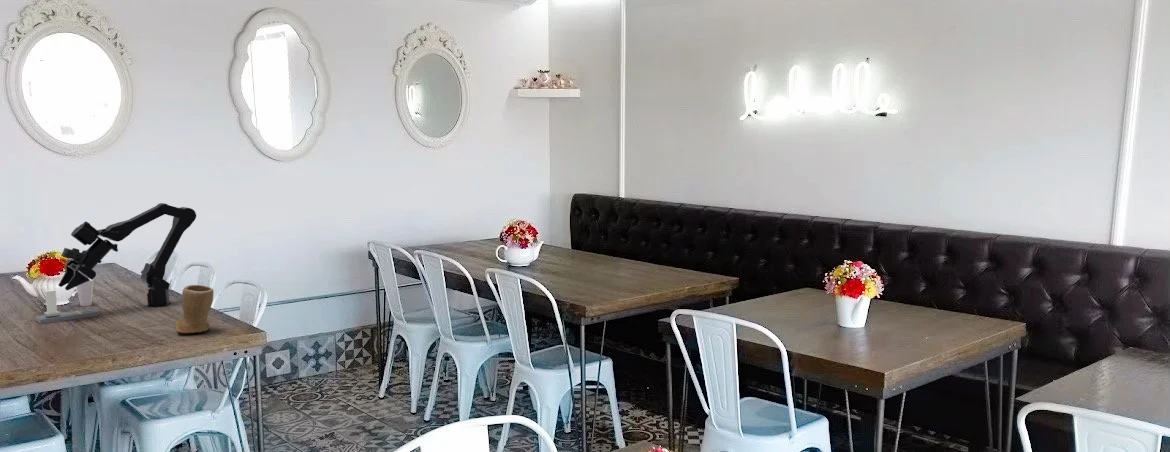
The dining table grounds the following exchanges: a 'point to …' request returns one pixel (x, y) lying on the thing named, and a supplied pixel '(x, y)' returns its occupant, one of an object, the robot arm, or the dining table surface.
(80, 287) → the smoothie
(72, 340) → the dining table surface
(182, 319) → the tan boot
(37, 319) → the fader board
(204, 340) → the dining table surface
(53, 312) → the fader
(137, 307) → the dining table surface
